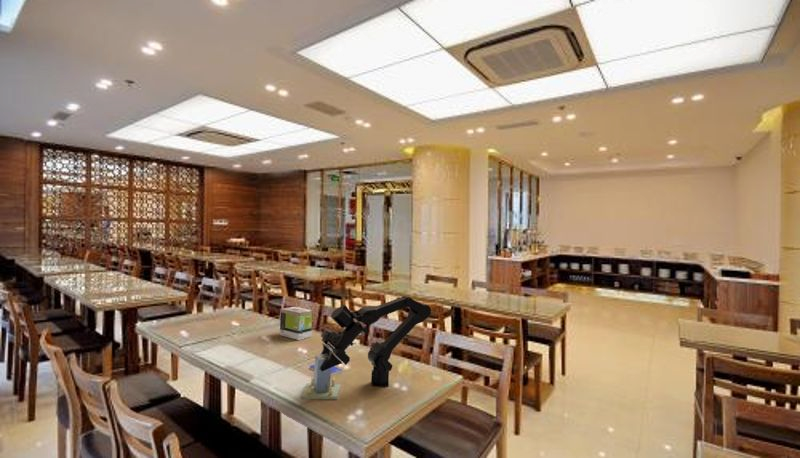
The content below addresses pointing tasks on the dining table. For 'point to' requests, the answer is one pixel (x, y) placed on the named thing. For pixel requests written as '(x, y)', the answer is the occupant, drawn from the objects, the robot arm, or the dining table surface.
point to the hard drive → (333, 369)
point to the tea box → (296, 323)
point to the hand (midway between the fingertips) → (318, 367)
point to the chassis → (311, 394)
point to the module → (321, 374)
